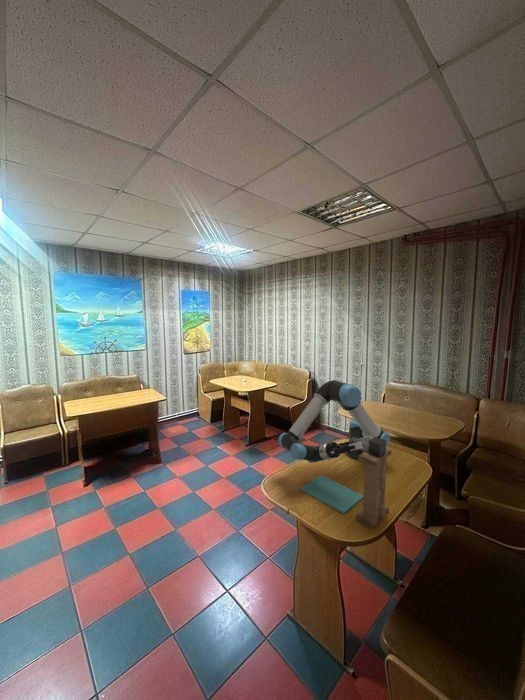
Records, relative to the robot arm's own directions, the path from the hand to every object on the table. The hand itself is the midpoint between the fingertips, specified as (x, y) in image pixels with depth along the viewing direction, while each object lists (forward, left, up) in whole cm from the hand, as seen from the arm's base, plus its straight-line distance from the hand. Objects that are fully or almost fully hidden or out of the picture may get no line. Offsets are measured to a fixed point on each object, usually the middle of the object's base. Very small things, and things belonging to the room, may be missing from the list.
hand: (366, 441), depth 130 cm
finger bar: (0, 0, -4) cm, 4 cm away
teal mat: (0, -18, -34) cm, 38 cm away
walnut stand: (0, +4, -34) cm, 34 cm away
